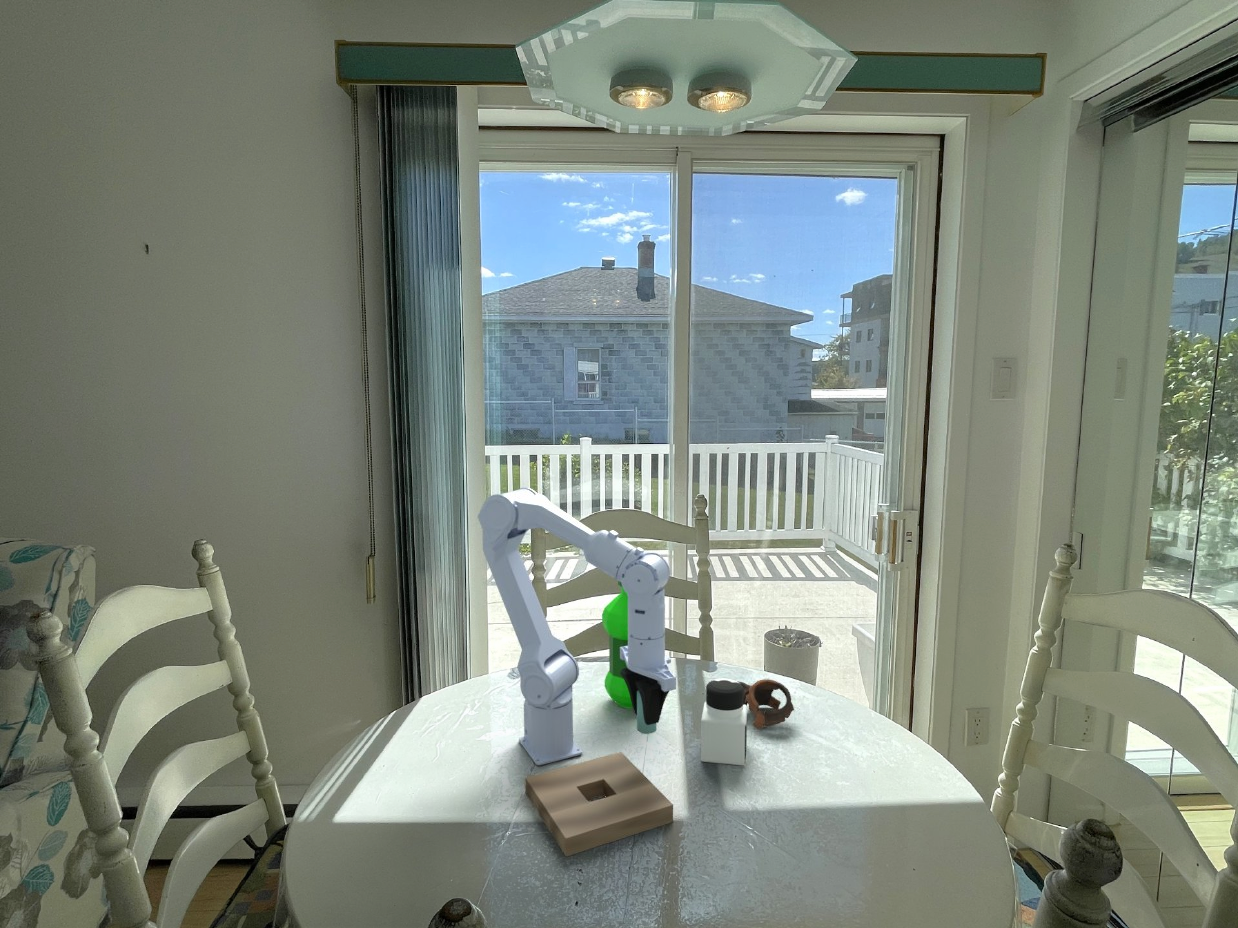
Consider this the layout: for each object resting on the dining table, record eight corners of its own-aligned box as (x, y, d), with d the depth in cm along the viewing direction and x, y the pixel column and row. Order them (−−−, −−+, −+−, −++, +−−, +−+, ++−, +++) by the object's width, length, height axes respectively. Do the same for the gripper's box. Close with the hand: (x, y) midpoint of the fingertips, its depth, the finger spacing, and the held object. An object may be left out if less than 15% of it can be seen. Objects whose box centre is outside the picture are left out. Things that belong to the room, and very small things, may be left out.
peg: (633, 727, 109) (633, 690, 108) (650, 722, 110) (650, 686, 109) (642, 735, 106) (642, 697, 105) (659, 730, 107) (659, 693, 107)
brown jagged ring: (794, 712, 130) (802, 685, 125) (779, 753, 123) (787, 726, 118) (734, 686, 134) (738, 659, 129) (716, 725, 127) (720, 698, 122)
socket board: (525, 793, 103) (525, 777, 103) (621, 766, 110) (621, 751, 110) (566, 856, 89) (565, 838, 88) (673, 821, 96) (673, 804, 96)
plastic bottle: (658, 713, 128) (658, 582, 126) (602, 714, 128) (600, 582, 126) (656, 690, 138) (656, 568, 136) (603, 691, 138) (602, 568, 136)
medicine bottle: (745, 766, 110) (746, 694, 109) (700, 762, 111) (700, 690, 110) (746, 744, 117) (747, 675, 116) (704, 740, 118) (704, 672, 117)
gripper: (693, 644, 102) (693, 732, 103) (646, 616, 115) (646, 694, 116) (652, 652, 99) (652, 743, 100) (608, 622, 112) (608, 703, 113)
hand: (646, 717), depth 108 cm, fingers closed on peg, 3 cm apart
